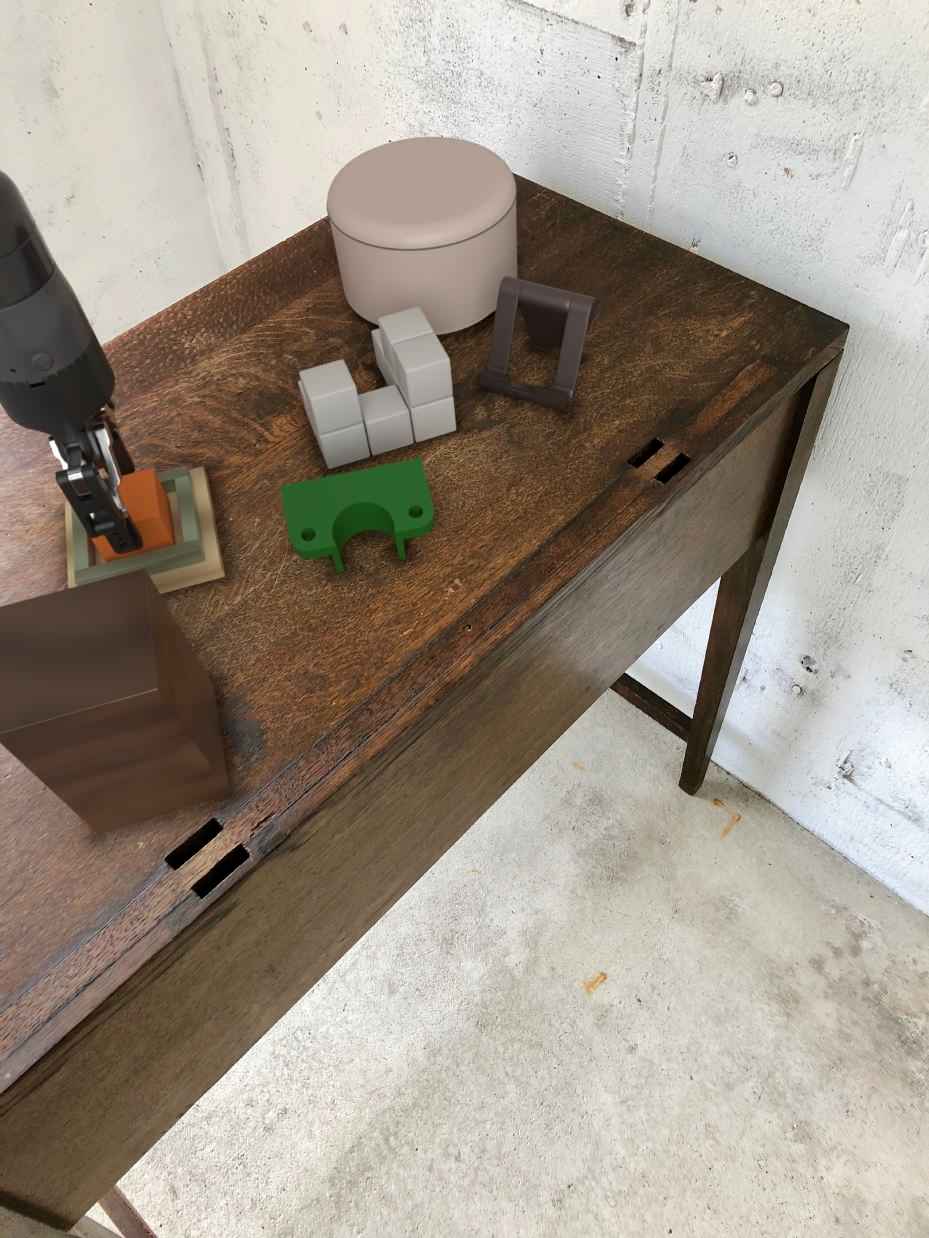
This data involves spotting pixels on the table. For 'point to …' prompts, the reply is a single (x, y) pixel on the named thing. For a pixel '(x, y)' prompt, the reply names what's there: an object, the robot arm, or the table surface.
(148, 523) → the orange square block
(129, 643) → the stand
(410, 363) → the gray cube puzzle piece
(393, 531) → the clamp
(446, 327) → the container
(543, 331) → the tablet stand
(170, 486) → the square tray
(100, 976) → the table surface
